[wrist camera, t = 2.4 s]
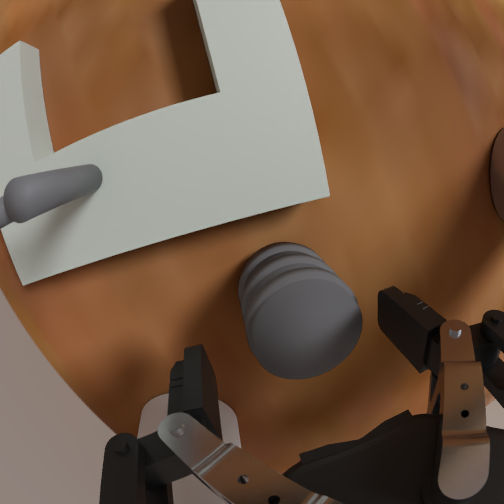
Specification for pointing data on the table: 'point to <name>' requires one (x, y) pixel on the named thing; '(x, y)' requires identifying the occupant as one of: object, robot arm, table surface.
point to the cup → (190, 488)
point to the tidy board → (161, 151)
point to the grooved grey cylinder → (297, 311)
